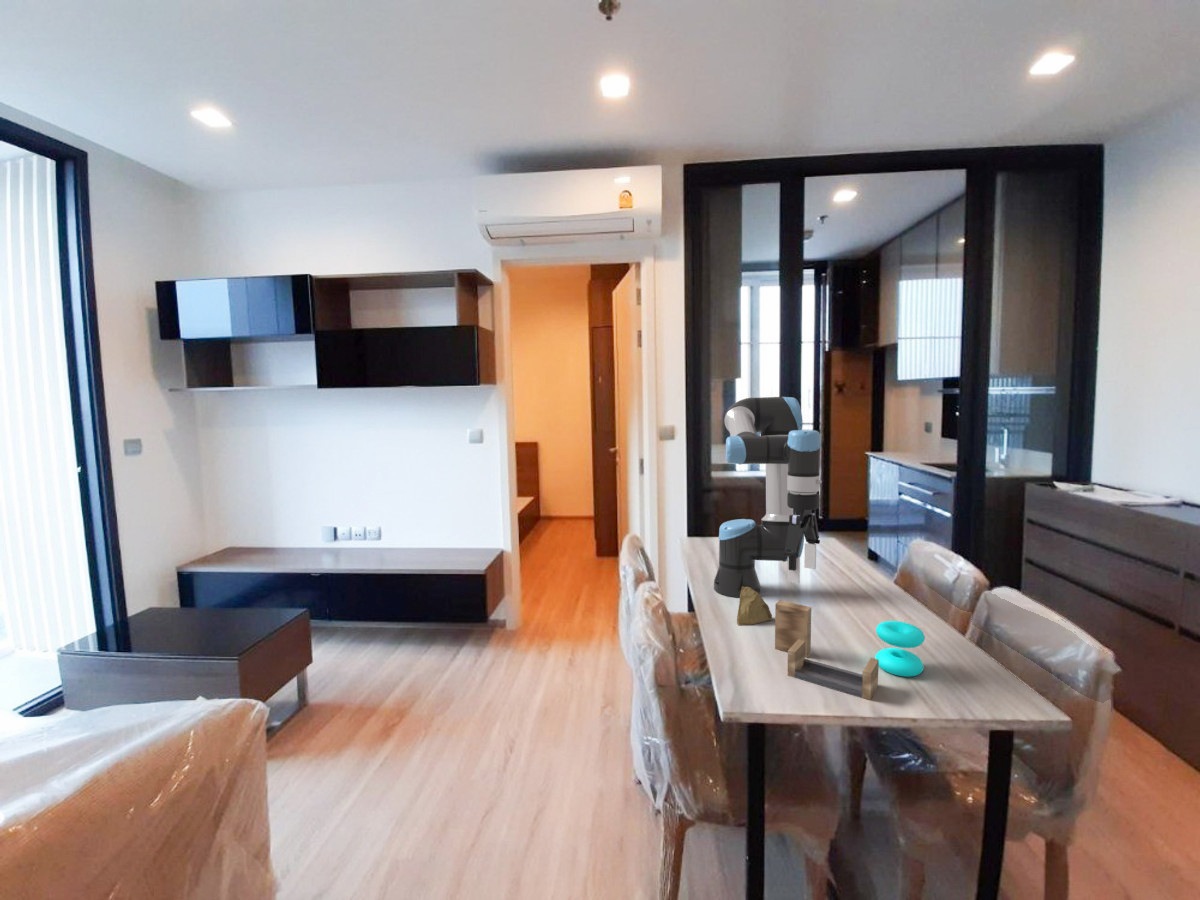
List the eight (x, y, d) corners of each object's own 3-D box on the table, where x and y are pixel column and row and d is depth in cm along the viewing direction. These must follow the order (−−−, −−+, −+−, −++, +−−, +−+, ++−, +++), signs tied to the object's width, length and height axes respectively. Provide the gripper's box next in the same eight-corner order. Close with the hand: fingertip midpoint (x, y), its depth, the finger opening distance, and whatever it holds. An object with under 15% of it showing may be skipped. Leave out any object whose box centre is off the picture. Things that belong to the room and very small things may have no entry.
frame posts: (787, 675, 126) (787, 650, 125) (798, 662, 132) (798, 639, 131) (870, 700, 115) (871, 673, 114) (877, 685, 121) (878, 659, 120)
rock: (773, 606, 161) (739, 599, 164) (777, 591, 155) (741, 583, 158) (769, 639, 154) (734, 631, 157) (773, 624, 148) (736, 615, 151)
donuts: (870, 617, 133) (914, 620, 131) (869, 656, 134) (913, 659, 132) (884, 635, 123) (932, 638, 122) (883, 677, 124) (930, 680, 122)
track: (794, 677, 125) (794, 671, 125) (804, 664, 131) (805, 658, 131) (862, 697, 116) (862, 691, 116) (870, 683, 122) (870, 676, 122)
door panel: (774, 649, 139) (775, 603, 138) (779, 644, 142) (779, 600, 140) (806, 657, 134) (807, 611, 133) (810, 653, 137) (811, 607, 135)
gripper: (803, 501, 123) (801, 592, 125) (832, 486, 143) (830, 565, 145) (770, 498, 128) (769, 586, 129) (803, 484, 147) (802, 560, 149)
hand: (802, 575), depth 137 cm, fingers open, 13 cm apart
